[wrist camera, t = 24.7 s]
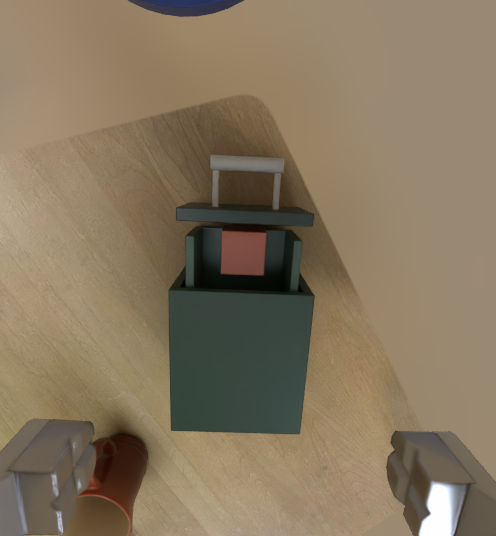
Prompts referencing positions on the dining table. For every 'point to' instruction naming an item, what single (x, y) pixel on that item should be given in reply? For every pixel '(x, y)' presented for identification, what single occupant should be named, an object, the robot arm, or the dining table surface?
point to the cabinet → (238, 358)
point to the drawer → (209, 238)
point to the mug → (110, 489)
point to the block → (243, 250)
